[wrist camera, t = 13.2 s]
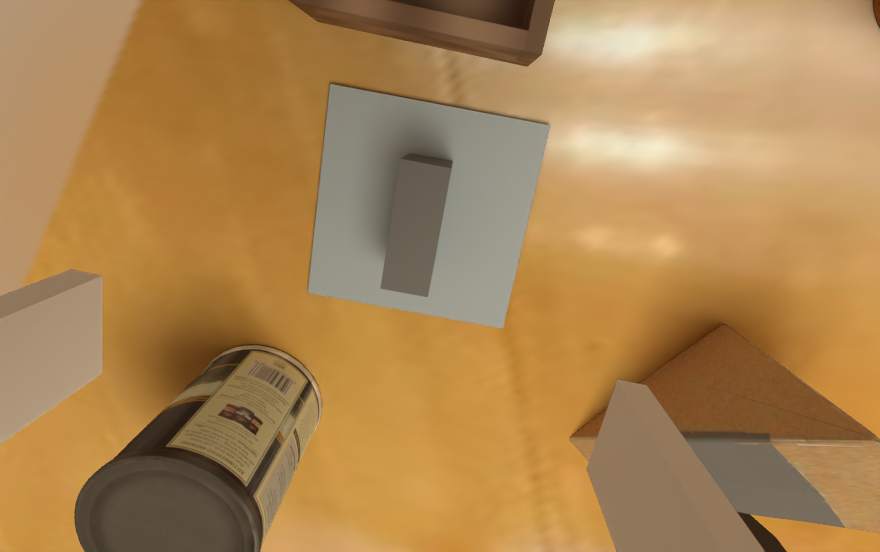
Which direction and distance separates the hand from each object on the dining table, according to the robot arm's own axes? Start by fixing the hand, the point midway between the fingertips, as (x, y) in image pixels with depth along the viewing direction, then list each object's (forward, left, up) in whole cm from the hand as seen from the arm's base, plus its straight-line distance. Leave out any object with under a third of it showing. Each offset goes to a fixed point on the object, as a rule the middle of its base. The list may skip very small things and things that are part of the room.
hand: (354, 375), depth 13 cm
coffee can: (+10, +18, -25) cm, 32 cm away
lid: (0, 0, -25) cm, 25 cm away
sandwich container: (-23, +12, -25) cm, 36 cm away
